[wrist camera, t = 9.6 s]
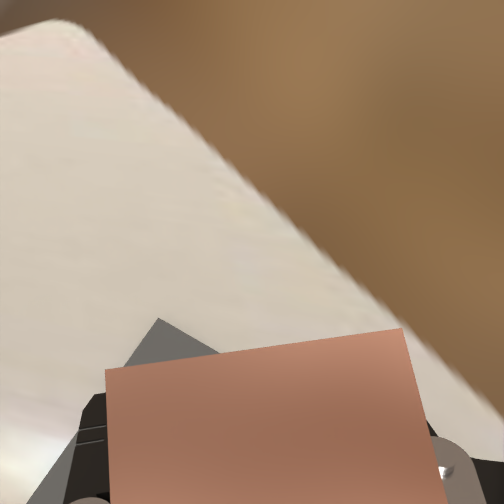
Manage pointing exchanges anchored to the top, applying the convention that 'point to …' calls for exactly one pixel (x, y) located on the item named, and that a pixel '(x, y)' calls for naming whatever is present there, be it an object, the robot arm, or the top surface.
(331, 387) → the beech block
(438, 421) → the top surface
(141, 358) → the rubber mat
